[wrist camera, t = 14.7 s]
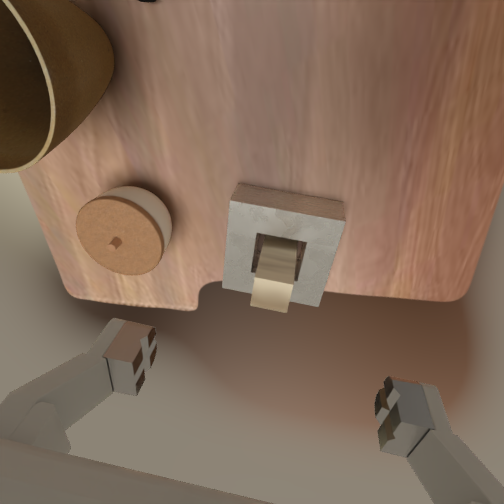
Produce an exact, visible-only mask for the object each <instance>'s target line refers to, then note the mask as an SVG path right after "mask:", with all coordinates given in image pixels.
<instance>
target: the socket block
mask: <svg viewBox="0 0 504 504" xmlns="http://www.w3.org/2000/svg"><path fill="white" fill-rule="evenodd" d="M345 222H346V220H345V213H344V205H343V202H340V201H335V200H329V199H324V198H318V197H312V196H307V195H301V194H296V193H290V192H285V191H279V190H273V189H268V188H262V187H257V186H251V185H245V184H240V183H238V185H237V187H236V189H235V191H234V193H233V195H232V197H231V199H230V205H229V216H228V228H227V239H226V250H225V261H224V273H223V285H222V288H226V289H232V290H236V291H241V292H247V293H251V294H252V291H253V285H254V279H255V274H256V270H257V266H258V262H259V258H260V254H261V252H260V251H257V245H258V239H259V233H261V234H266V235H272V236H277V237H282V238H288V239H293V240H298V241H303V245H302V250H301V254H300V258H299V259H297V258H296V264H295V275H294V285H293V289H292V293H291V297H290V301H291V302H296V303H301V304H306V305H311V306H316V307H318V306H319V303H320V300H321V297H322V294H323V291H324V288H325V285H326V282H327V279H328V275H329V272H330V269H331V266H332V263H333V260H334V257H335V254H336V250H337V247H338V244H339V241H340V238H341V235H342V232H343V229H344V225H345Z"/></svg>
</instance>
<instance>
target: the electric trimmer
mask: <svg viewBox="0 0 504 504" xmlns="http://www.w3.org/2000/svg"><path fill="white" fill-rule="evenodd" d="M139 1H141V2H155V1H156V0H139Z"/></svg>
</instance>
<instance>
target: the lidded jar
mask: <svg viewBox="0 0 504 504" xmlns="http://www.w3.org/2000/svg"><path fill="white" fill-rule="evenodd" d="M76 230H77V235H78V238H79V240H80V242H81V244H82V246H83V248H84V249H85V250H86V252H87V253H88V254H89V255H90V256H91V257H92V258H93V259H94V260H95V261H96V262H97V263H99V264H100V265H102V266H103V267H105V268H107V269H109V270H111V271H113V272H116V273H119V274H123V275H141V274H145V273H147V272H149V271H151V270H152V269H154V268H155V267H156V266H157V264H158V263H159V261H160V260H161V258H162V256H163V254H164V252H165V250H166V249H167V246H168V244H169V241H170V238H171V233H172V221H171V217H170V214H169V212H168V210H167V208H166V206H165V205H164V203H163V202H162V201H161V200H160V199H159V198H158V197H157V196H156V195H154V194H153V193H151V192H150V191H147V190H145V189H142V188H139V187H134V186H123V187H117V188H114V189H111V190H108V191H106V192H104V193H103V194H101V195H99V196H98V197H96V198H95V199H93V200H91V201H89V202H88V203H87V204H85V205H84V206H83V207H82V208H81V210H80V211H79V213H78V216H77V219H76Z"/></svg>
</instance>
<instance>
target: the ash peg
mask: <svg viewBox="0 0 504 504" xmlns="http://www.w3.org/2000/svg"><path fill="white" fill-rule="evenodd" d="M297 243H298V240H293V239H288V238H282V237H277V236H272V235H265V239H264V242H263V246H262V250H261V254H260V258H259V262H258V266H257V270H256V274H255V279H254V285H253V291H252V298H251V304H250V306H256V307H260V308H265V309H270V310H275V311H280V312H285V313H287V309H288V305H289V301H290V297H291V293H292V289H293V285H294V275H295V264H296V254H297Z"/></svg>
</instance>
